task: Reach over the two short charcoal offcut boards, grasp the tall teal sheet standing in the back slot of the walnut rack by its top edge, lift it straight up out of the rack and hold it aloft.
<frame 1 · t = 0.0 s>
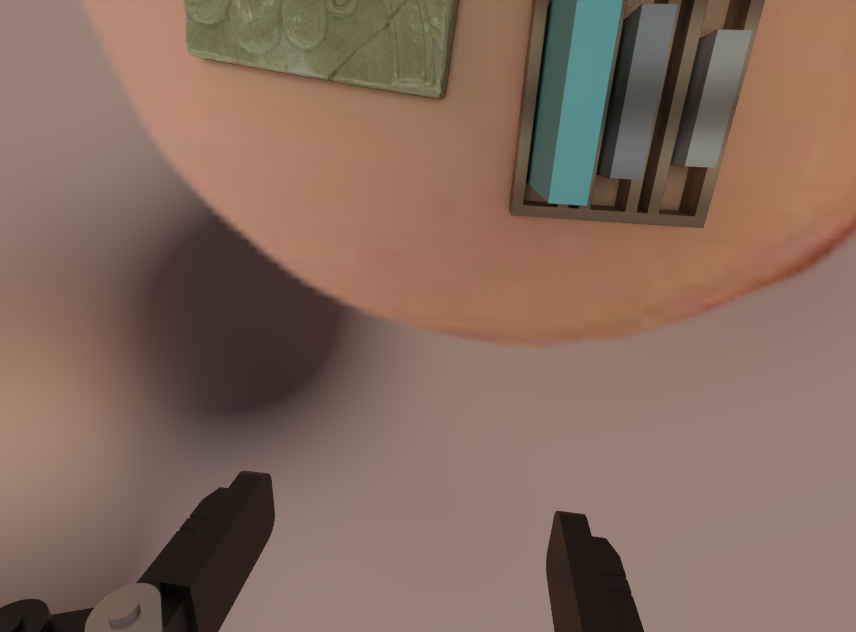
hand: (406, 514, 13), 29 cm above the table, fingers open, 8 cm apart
rack: (616, 104, 34), on the table
offcut tall: (616, 104, 34), resting in rack
offcut short: (685, 107, 34), resting in rack
teal sheet: (549, 101, 35), resting in rack
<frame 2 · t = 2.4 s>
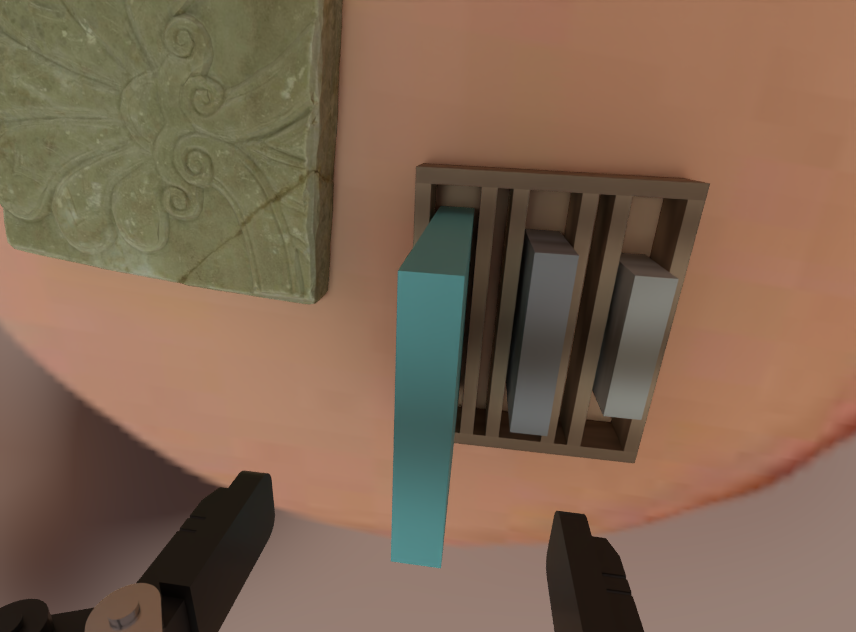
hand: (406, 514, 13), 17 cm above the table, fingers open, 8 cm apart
rack: (530, 310, 28), on the table
offcut tall: (530, 309, 28), resting in rack
offcut short: (612, 316, 28), resting in rack
teal sheet: (450, 303, 29), resting in rack
decorative tile: (179, 118, 27), on the table
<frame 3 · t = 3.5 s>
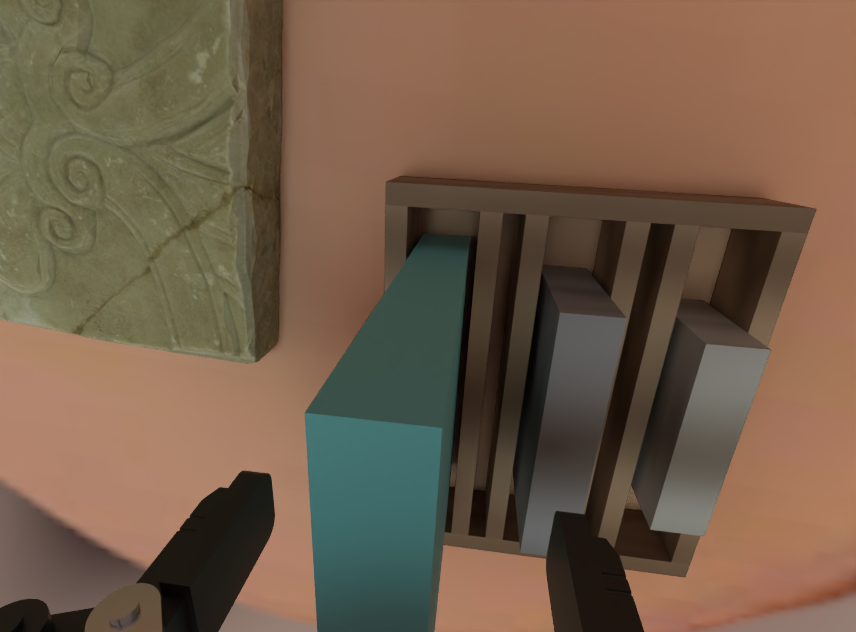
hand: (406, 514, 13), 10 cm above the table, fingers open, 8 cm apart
rack: (545, 370, 21), on the table
offcut tall: (545, 369, 21), resting in rack
offcut short: (655, 380, 21), resting in rack
teal sheet: (439, 359, 22), resting in rack
decorative tile: (74, 115, 20), on the table
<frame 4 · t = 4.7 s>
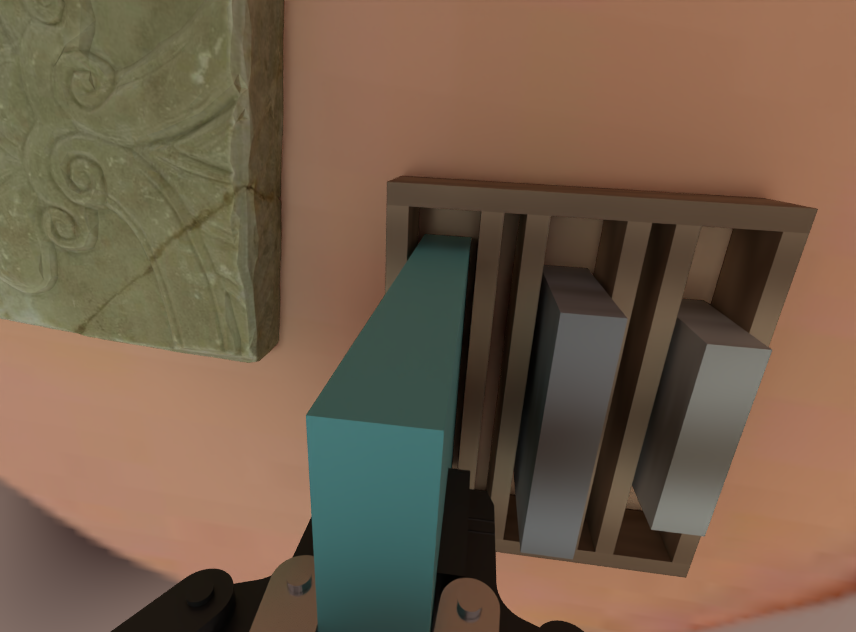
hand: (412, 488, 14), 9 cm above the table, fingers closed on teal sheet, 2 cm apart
rack: (546, 370, 21), on the table
offcut tall: (546, 369, 21), resting in rack
offcut short: (656, 380, 21), resting in rack
teal sheet: (439, 360, 22), resting in rack, touching gripper
decorative tile: (76, 114, 20), on the table
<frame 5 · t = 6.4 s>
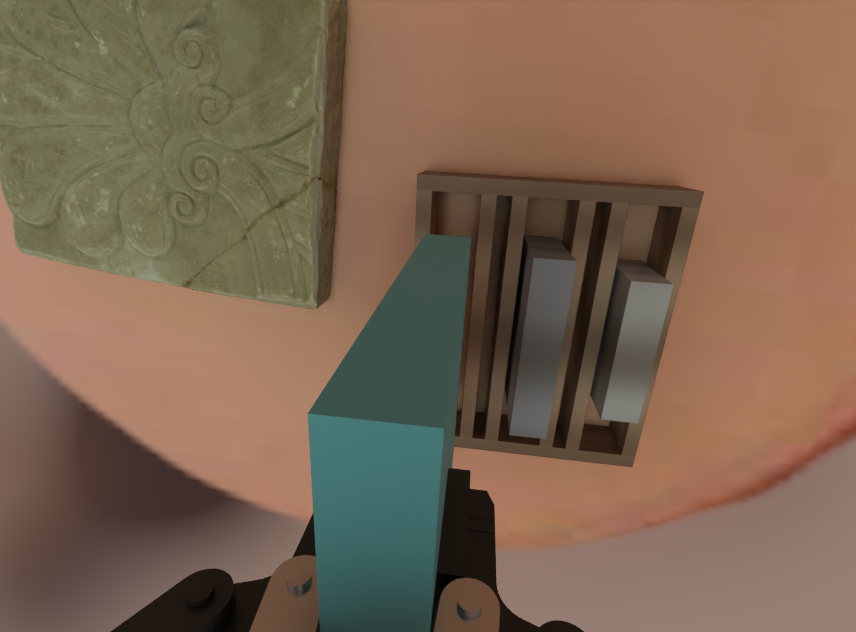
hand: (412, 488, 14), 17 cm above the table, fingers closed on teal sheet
rack: (529, 315, 29), on the table
offcut tall: (529, 314, 29), resting in rack
offcut short: (610, 321, 28), resting in rack
teal sheet: (440, 360, 22), point 8 cm above the table, touching gripper
decorative tile: (186, 127, 28), on the table
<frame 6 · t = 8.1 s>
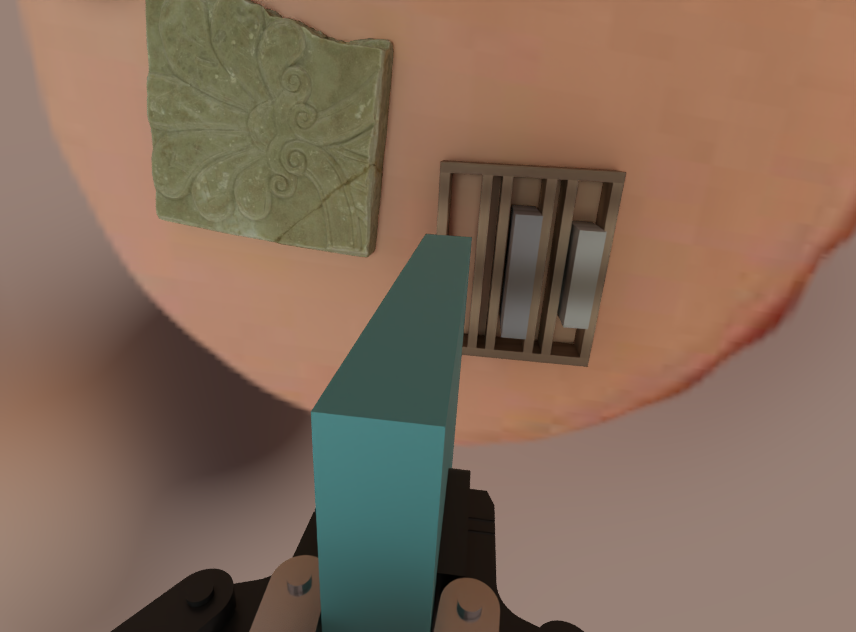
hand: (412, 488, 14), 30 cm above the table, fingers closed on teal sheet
rack: (516, 261, 41), on the table
offcut tall: (516, 261, 41), resting in rack
offcut short: (572, 265, 40), resting in rack
teal sheet: (440, 359, 22), point 21 cm above the table, touching gripper
decorative tile: (277, 130, 40), on the table
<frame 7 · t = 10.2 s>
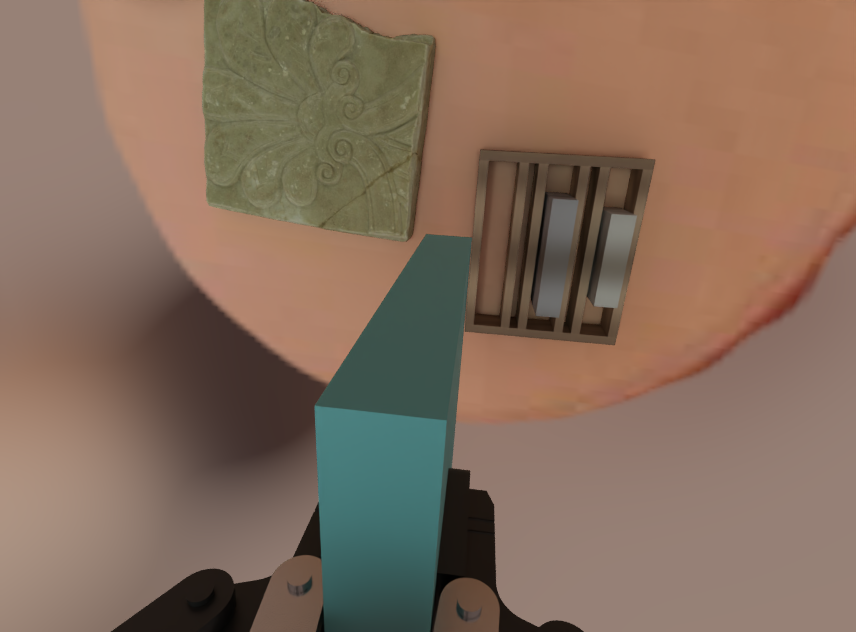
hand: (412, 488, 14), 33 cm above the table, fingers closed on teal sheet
rack: (547, 246, 43), on the table
offcut tall: (546, 245, 43), resting in rack
offcut short: (600, 249, 43), resting in rack
teal sheet: (440, 359, 22), point 24 cm above the table, touching gripper
decorative tile: (322, 121, 42), on the table
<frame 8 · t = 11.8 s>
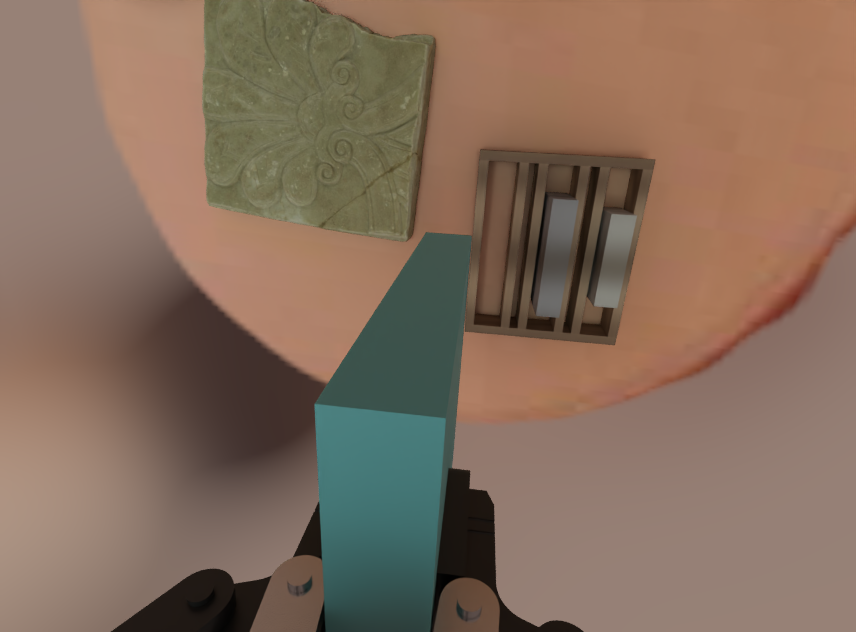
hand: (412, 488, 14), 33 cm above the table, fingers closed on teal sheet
rack: (547, 246, 43), on the table
offcut tall: (546, 245, 43), resting in rack
offcut short: (600, 249, 43), resting in rack
teal sheet: (440, 357, 22), point 24 cm above the table, touching gripper
decorative tile: (322, 121, 42), on the table
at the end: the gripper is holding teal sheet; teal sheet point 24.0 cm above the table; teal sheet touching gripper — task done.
